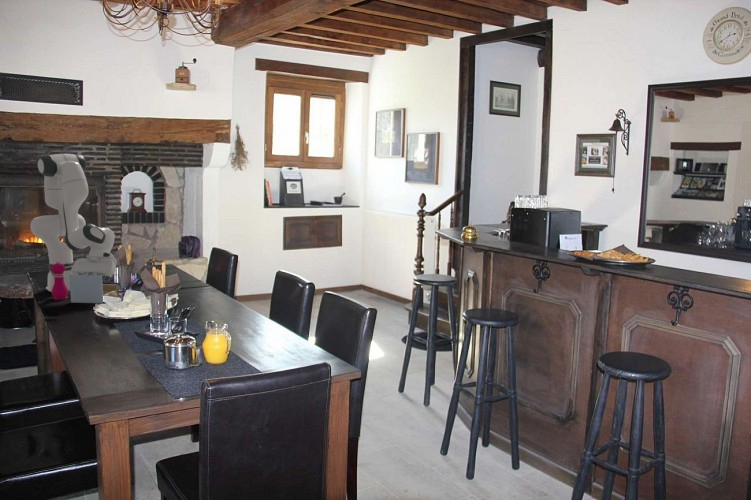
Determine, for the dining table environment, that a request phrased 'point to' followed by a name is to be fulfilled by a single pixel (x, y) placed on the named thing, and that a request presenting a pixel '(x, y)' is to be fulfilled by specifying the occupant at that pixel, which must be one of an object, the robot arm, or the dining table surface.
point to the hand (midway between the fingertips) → (88, 282)
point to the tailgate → (86, 288)
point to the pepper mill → (59, 282)
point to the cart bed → (110, 290)
